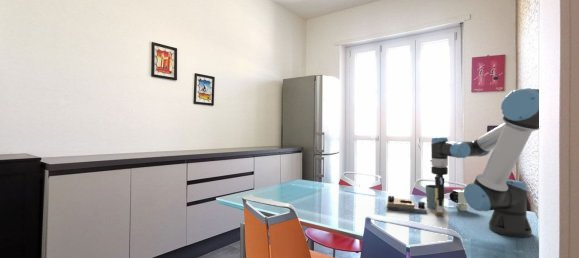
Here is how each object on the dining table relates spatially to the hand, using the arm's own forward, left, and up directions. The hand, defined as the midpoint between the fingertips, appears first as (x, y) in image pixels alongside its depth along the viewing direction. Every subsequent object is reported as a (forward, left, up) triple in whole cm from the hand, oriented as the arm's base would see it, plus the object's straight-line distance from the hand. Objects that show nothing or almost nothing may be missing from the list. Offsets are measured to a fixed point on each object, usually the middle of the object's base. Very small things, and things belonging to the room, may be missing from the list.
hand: (439, 210), depth 147 cm
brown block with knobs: (+7, +16, -3) cm, 18 cm away
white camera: (+15, -13, -3) cm, 20 cm away
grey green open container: (+17, 0, -3) cm, 17 cm away
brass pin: (0, 0, -3) cm, 3 cm away
